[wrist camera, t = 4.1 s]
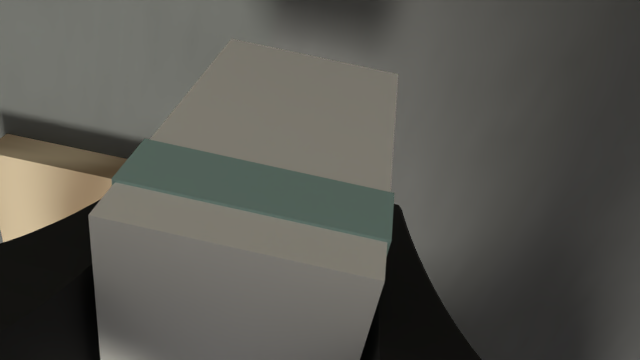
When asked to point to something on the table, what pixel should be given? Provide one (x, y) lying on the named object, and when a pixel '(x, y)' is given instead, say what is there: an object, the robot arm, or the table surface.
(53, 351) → the robot arm
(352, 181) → the carton block
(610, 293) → the table surface
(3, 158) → the oak block
